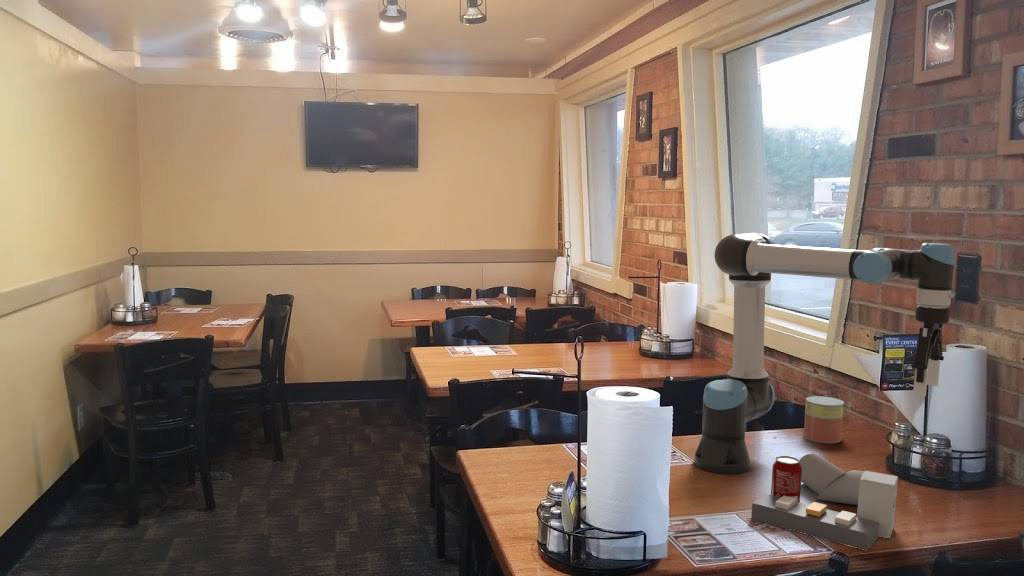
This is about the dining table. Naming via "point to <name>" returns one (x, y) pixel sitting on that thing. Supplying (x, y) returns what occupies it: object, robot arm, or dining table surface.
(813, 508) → the paddle mid
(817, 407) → the canned food
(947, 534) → the dining table surface
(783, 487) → the soda can
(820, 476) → the l-shaped cylinder
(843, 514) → the button panel
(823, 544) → the dining table surface
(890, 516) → the supplement box
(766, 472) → the dining table surface
